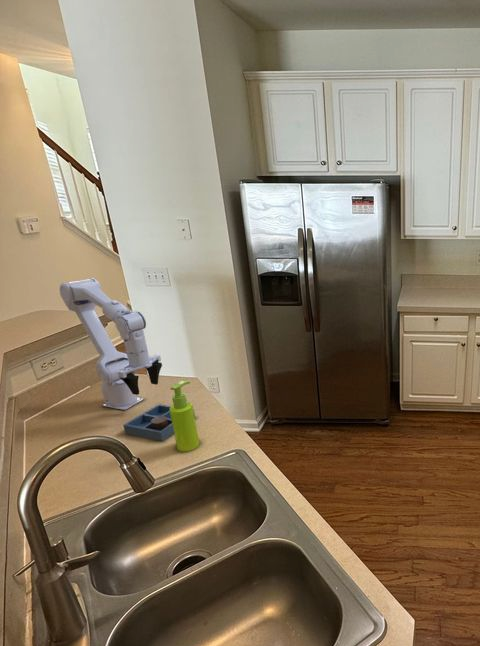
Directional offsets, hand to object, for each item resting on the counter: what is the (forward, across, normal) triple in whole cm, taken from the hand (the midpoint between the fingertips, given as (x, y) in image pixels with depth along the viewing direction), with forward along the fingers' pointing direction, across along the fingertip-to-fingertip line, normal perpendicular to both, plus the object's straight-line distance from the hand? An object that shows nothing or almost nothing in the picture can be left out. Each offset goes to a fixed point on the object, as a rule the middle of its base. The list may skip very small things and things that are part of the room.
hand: (145, 388), depth 141 cm
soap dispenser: (+10, -11, -25) cm, 29 cm away
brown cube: (+9, -8, -12) cm, 17 cm away
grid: (+9, -5, -9) cm, 14 cm away
